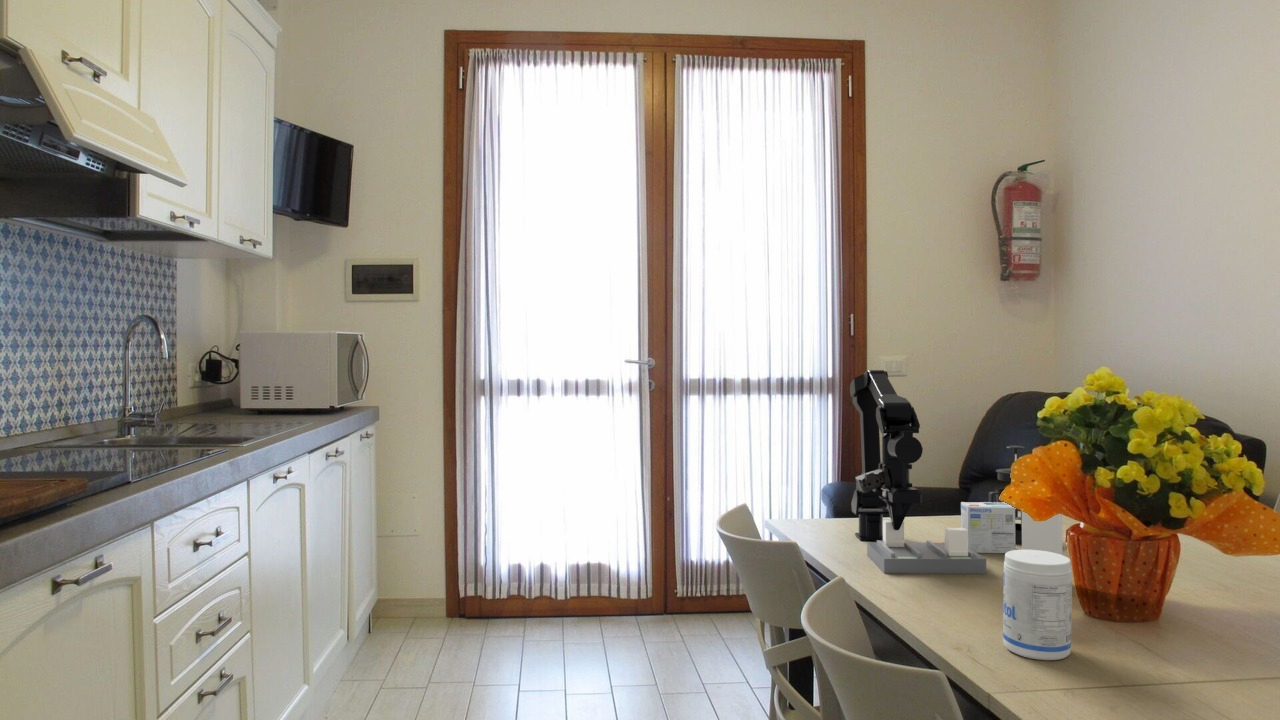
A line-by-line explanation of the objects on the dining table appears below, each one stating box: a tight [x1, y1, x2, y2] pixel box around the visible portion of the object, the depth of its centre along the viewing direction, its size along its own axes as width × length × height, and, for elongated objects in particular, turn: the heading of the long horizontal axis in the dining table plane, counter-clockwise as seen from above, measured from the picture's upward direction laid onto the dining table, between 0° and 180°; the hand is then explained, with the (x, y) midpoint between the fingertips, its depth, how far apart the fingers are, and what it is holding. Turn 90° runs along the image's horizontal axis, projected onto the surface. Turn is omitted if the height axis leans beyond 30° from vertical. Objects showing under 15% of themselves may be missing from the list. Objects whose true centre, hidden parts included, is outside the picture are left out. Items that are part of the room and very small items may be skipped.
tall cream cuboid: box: [944, 527, 968, 556], centre depth 176 cm, size 3×4×5 cm
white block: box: [882, 519, 905, 547], centre depth 185 cm, size 3×4×5 cm
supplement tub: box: [1002, 549, 1073, 661], centre depth 128 cm, size 10×10×15 cm
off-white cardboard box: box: [1021, 511, 1063, 555], centre depth 165 cm, size 7×7×19 cm
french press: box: [988, 445, 1026, 546], centre depth 202 cm, size 12×9×23 cm
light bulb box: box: [960, 501, 1016, 554], centre depth 193 cm, size 11×7×11 cm, turn 84°
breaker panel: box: [866, 539, 987, 575], centre depth 181 cm, size 15×21×4 cm
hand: (896, 529), depth 182 cm, fingers closed
